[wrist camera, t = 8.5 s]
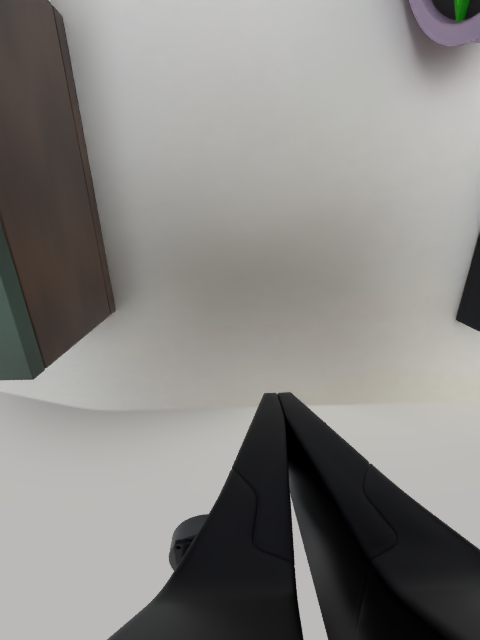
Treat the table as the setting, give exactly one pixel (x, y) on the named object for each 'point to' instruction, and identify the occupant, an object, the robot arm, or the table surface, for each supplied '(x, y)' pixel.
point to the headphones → (448, 20)
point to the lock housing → (471, 295)
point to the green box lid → (15, 325)
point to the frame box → (48, 182)
